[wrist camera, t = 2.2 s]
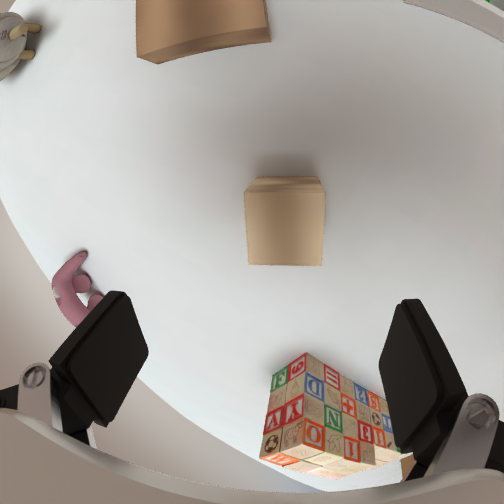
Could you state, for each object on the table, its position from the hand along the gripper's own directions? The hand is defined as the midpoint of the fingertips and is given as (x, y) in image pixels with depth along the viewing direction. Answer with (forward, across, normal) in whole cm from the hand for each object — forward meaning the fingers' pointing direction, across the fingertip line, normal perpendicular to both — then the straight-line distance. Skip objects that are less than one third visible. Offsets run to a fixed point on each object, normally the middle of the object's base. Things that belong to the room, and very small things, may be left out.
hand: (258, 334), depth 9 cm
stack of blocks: (+16, -9, +26) cm, 32 cm away
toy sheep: (+16, +32, -25) cm, 44 cm away
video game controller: (+16, +23, +10) cm, 30 cm away
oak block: (+16, -1, 0) cm, 16 cm away
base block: (+16, +5, -20) cm, 26 cm away
